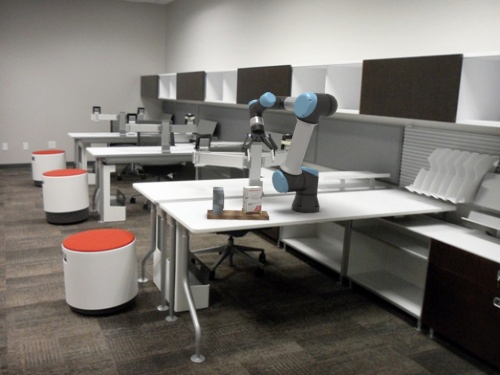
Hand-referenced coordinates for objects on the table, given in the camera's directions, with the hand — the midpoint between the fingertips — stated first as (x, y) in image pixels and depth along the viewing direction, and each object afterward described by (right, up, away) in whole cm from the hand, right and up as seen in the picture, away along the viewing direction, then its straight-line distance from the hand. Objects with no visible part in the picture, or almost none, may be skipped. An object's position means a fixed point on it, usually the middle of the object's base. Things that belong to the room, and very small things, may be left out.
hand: (261, 161), depth 256 cm
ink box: (-5, -25, -21) cm, 33 cm away
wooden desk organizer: (-12, -29, -21) cm, 37 cm away
